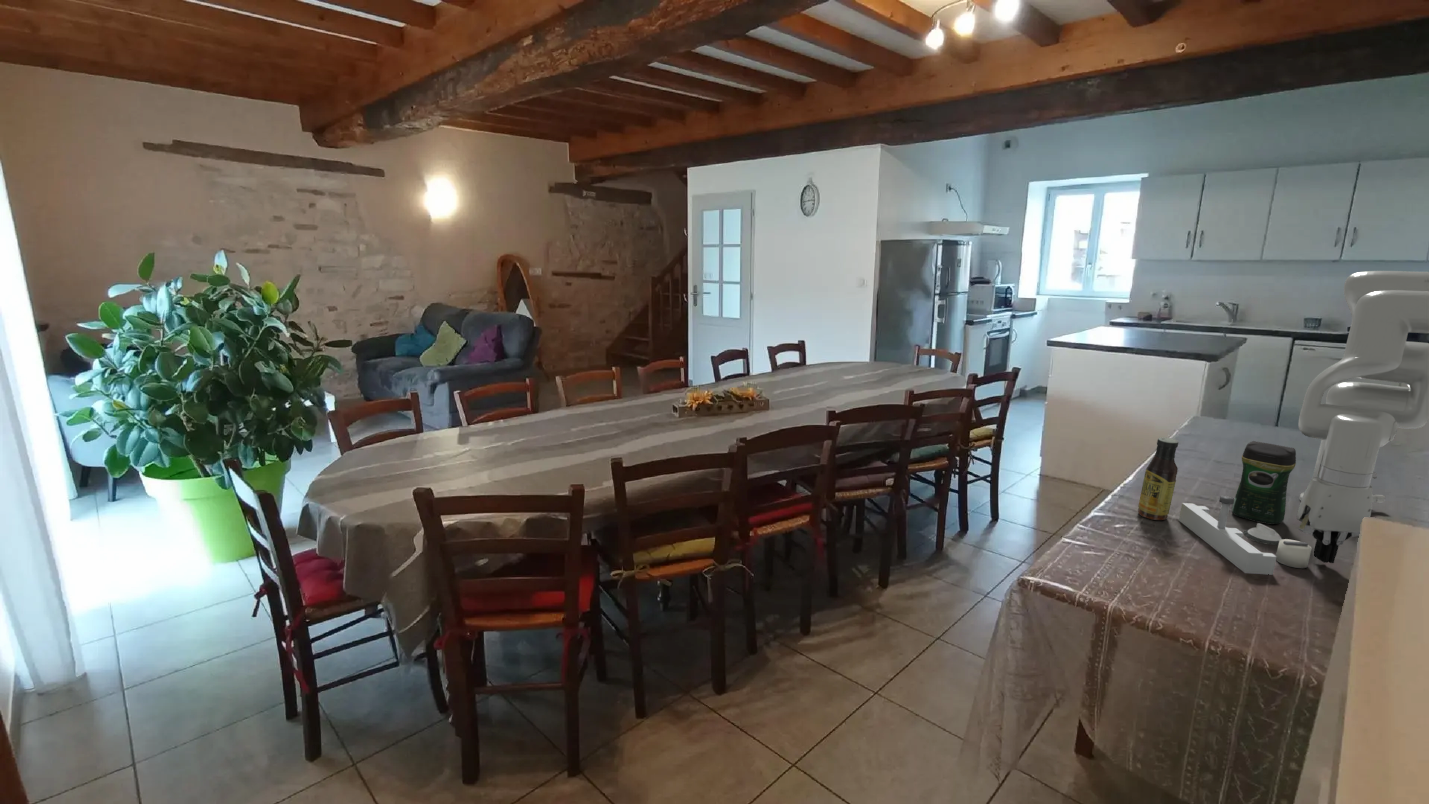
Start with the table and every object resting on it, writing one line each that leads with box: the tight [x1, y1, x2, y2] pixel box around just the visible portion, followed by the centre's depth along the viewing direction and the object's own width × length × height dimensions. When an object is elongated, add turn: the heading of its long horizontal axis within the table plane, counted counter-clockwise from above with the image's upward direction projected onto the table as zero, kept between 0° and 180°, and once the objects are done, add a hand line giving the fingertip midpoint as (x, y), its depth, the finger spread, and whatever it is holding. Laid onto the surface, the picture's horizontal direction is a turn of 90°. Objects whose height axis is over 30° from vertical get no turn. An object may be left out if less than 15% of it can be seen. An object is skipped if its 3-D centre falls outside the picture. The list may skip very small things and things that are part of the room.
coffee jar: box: [1231, 440, 1297, 525], centre depth 151 cm, size 10×8×19 cm
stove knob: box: [1242, 522, 1284, 546], centre depth 143 cm, size 7×7×3 cm
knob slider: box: [1275, 538, 1313, 569], centre depth 131 cm, size 5×5×4 cm
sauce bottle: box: [1137, 437, 1179, 521], centre depth 152 cm, size 6×6×20 cm
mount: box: [1178, 495, 1277, 576], centre depth 138 cm, size 5×25×12 cm, turn 170°
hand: (1323, 559), depth 131 cm, fingers closed
